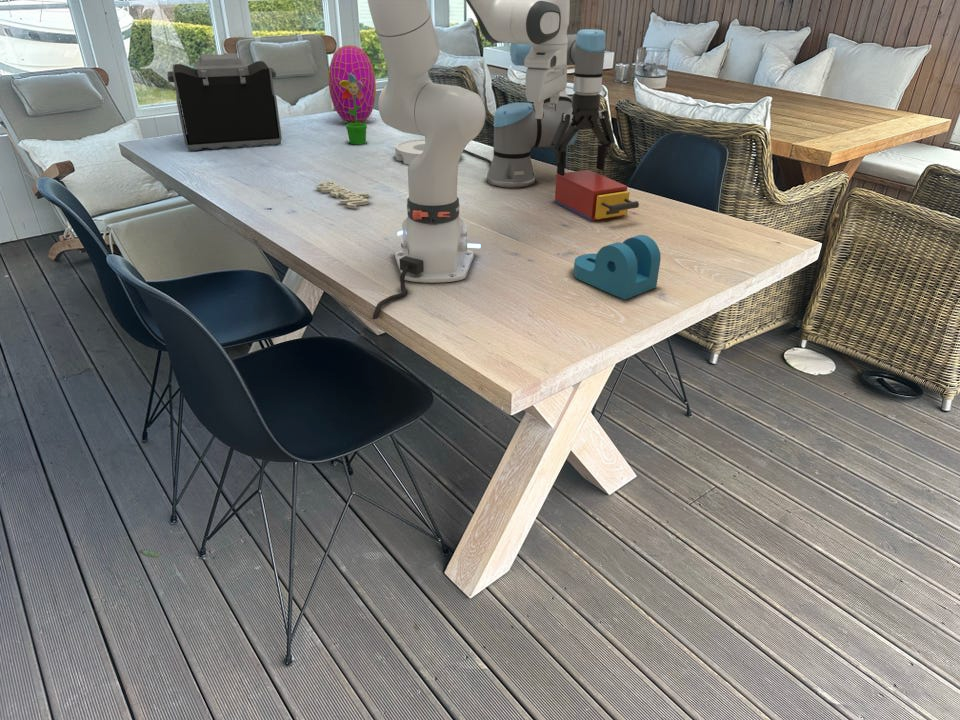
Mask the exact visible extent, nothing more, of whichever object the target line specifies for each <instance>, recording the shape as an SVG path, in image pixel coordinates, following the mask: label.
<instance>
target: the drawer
mask: <svg viewBox="0 0 960 720" xmlns="http://www.w3.org/2000/svg"><path fill="white" fill-rule="evenodd" d="M630 193H631V192H630V191H628V190H627V191H624V192H620V191H617V192H611V193H604V194H598V195H597V197H596V207H595V218H596V219H601V220H603V219H602V218H606V219H609V218H608V217H612V218H615V217H614V216H618V217H621V216H620V215H624V216H625V215H628V210H632V209H637V208H639V206H640V202H639V201H637V200H635V201H632V200H631V199H630Z"/></svg>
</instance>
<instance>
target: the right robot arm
mask: <svg viewBox="0 0 960 720" xmlns="http://www.w3.org/2000/svg"><path fill="white" fill-rule="evenodd" d="M606 36H607V35H606V32H605V31H604V30H602V29H592V28H591V29H589V28H588V29H587V28H586V29H580V30H578V31H577V33H570V34H567V38H568V50H567V66H574V72H573V85H572V87H573V88H572V91H573V92H574V93H573V94H572V98H571V97H570V96H569V95H567V91H566V89H565V90H563V91H561V92H560V95H559V99H558V103H557V110H556V111H554V112H552V111H549V104H550V98H551V97H549V98H547V99H545V100H544V104H543V111H544V117H543V118H542V119H536V117H535V108H534V104H532V103H531V102H512V103H507V104H504V105H501V106H499V107H498V108H496V110H495V112H494V118H493V124H492V125H493V157H492V160H490V159H489V158H487V157H484V156H481V155H479V154H477V153H474V152H471V151H469V150H467V149H464V150H463V152H464V153H466V154H468V155H472V156H473V157H476V158H478V159H480V160H484V161H486V162H488V163H489V165H490V167H489V170H488V171H487V177H486V178H487V179H486V181H487V183H488V184H490V185H491V186H495V187H498V188H499V187H500V188H505V189H506V188H508V189H517V188H519V189H521V188H526V187H530V186H533V185H534V184H535V183H536V174H535V172H534V167H533V162H532V159H531V153H532V151H531V150H532V148H549V149H552V150H554V151H555V163H556V174H559V175H561V176H564V173H565V169H566V155H567V152H566V151H565V149H566V148H567V147H568V146H571V145H573V144H574V143H575V141H576V140H577V139H578V136H579V132H580V130H582V131H583V130H585V129H587V130H591V131H592V132H593V134H594V136H595V137H596V138H597V140H598V142H599V145H598V146H597V156H596V164H595V165H596V166H595V169H597V170H600V171H605V161H606V158H607V157H608V149H609V148H610V147H611V146H612V144H615V142H616V141H615V137H614V134H613V131H612V127H611V124H610V121H609V111H608V110H605V109H603V108H601V109H600V107H601V97H602V96H601V94H600V93H601V92H602V86H603V72H604V62H605V53H606V51H605V50H606V46H607V45H606V39H607V38H606ZM509 47H510V48H509V55H510V61H511V63H512V64H513V65H514V66H516V67H517V66H519V67H525V66H524V60H525V58H526V56H527V55H528V53H529V52H530V49H531V45H526V44H515V43H510V46H509ZM598 119H599V123H600V124H599V123H598V121H597V120H598ZM600 126H601V128H600Z"/></svg>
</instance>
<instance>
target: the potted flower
mask: <svg viewBox="0 0 960 720" xmlns="http://www.w3.org/2000/svg"><path fill="white" fill-rule="evenodd" d="M348 78H349V81H346V80H342V81H341V82H340V83H339V84H340V85H341V86H342V87H343V88H346V89H347V90H345V91H344V93H343V94H342V97H341V99H348V98H350V97H351V96H352V95H353V100H354V110H349V111H348V112H349V114H351V115H355V123H349V122H348V123H347V124H346V125H345V128H346V131H347V136H348V141H349V144H352V145H363V144H366V143H367V129H368V124H367V123H366V122H365V123H364V122H361V123H357V116H356V110H358V109H359V106H356V103H355V95H356V97H357V98H358V99H359V100H362V98H363V93H362V92H361V91H360V90H361V89H363V84H362V82H361V81H358V82H357V83H356V78H355V76H354V75H352V74H350V73H348Z"/></svg>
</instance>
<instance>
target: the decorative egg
mask: <svg viewBox="0 0 960 720" xmlns="http://www.w3.org/2000/svg"><path fill="white" fill-rule="evenodd" d="M348 73H350V74H352V75H354V76H355V78H356V83H357V82H358V81H361V82H362V84H363V89H361V90H360V91H361V92H362V93H363V98H362V100H359V99H358V98H357V97H356V95H355V103H356V106H359V109H358V110H356V116H357V123H364V122H365V121H366V120H368V118H369V117H370V116H371V114H372V112H373V111H374V106H375V103H376V102H375V101H376V96H377V95H376V94H377V83H376V82H377V81H376V75H375V71H374V68H373V63H372V62H371V60H370V57H369V56H368V54H367V53H366V51H365V50H363V48H361V47H359V46H357V45H353V44H352V45H351V44H348V45H343V46H340V47H338V48H337V49H336V51H334V53H333V56H332V57H331V61H330V63H329V69H328V90H329V96H330V99H331V103H332V105H333V108H334V110H335V111H336V113H337V114H338V116H339V118H341V119H342V120H343V121H344V122H346V123H348V124H349V123H355V115H351V114H349V112H348V111H349V110H354V100H353V95H352V96H351V97H350V98H348V99H341V97H342V94H343V93H344V91H345V90H347V89H346V88H343V87H342V86H341V85H340V84H339V83H340V82H341V81H342V80H346V81H349V78H348Z"/></svg>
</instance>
